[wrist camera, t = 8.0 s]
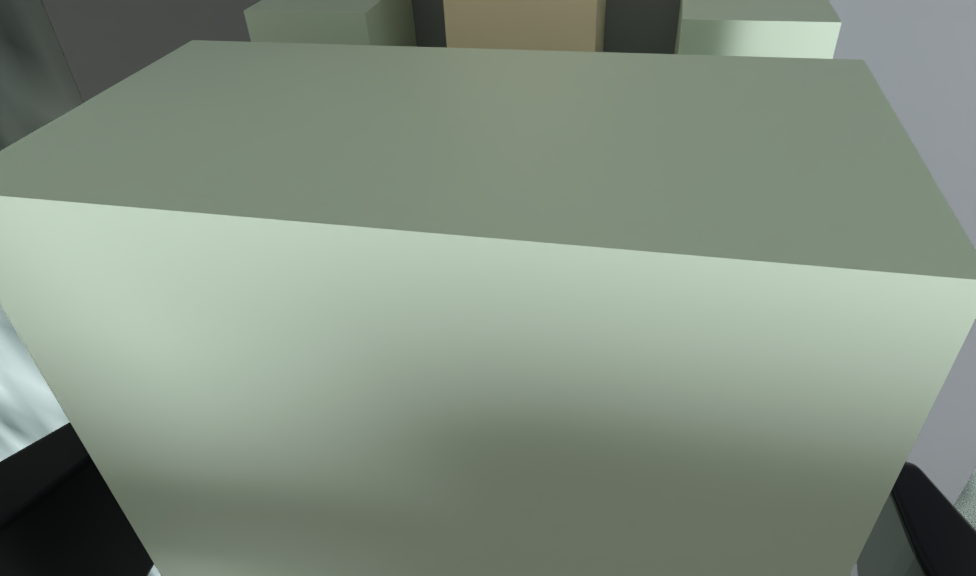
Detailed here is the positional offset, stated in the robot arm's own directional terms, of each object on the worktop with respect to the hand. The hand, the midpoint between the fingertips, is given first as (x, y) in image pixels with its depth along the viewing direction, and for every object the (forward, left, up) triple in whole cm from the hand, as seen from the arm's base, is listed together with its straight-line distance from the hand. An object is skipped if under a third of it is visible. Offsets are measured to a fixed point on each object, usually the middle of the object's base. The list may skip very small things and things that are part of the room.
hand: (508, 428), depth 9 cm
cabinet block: (0, 0, -2) cm, 3 cm away
